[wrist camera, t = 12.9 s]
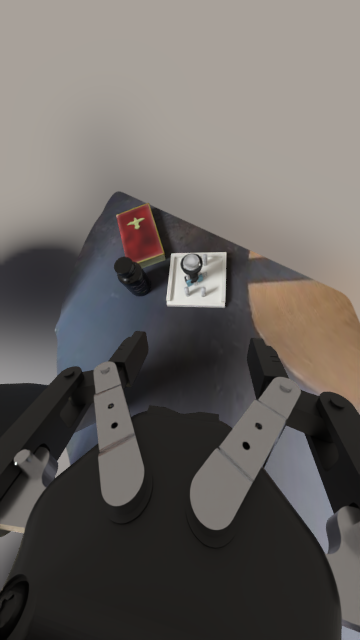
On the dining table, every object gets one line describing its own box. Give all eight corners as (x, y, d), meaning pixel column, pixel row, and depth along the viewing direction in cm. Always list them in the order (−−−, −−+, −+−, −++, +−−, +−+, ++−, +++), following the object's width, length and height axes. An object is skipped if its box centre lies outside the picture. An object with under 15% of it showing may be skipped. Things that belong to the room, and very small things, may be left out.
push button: (203, 268, 50) (202, 244, 41) (211, 283, 49) (212, 262, 39) (182, 277, 50) (176, 256, 41) (189, 292, 49) (185, 274, 39)
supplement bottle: (126, 285, 54) (105, 262, 43) (144, 272, 54) (128, 247, 43) (137, 301, 52) (117, 282, 41) (156, 288, 52) (141, 266, 41)
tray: (167, 306, 50) (163, 299, 45) (172, 257, 54) (169, 246, 49) (224, 307, 47) (226, 300, 42) (225, 256, 52) (227, 245, 47)
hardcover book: (132, 273, 56) (126, 266, 51) (120, 224, 62) (114, 214, 58) (167, 261, 55) (164, 252, 51) (152, 212, 61) (148, 201, 57)
